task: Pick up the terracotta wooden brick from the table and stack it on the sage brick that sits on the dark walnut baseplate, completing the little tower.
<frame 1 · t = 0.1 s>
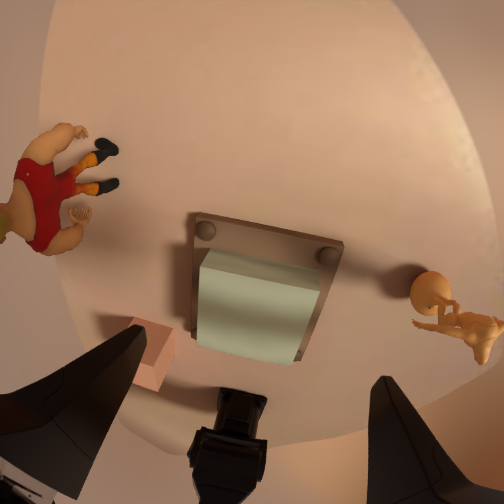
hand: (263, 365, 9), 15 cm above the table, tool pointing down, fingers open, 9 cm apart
figurine: (425, 271, 23), on the table
tower base: (257, 294, 26), on the table
action figure: (109, 165, 22), on the table
terracotta brick: (155, 336, 32), on the table
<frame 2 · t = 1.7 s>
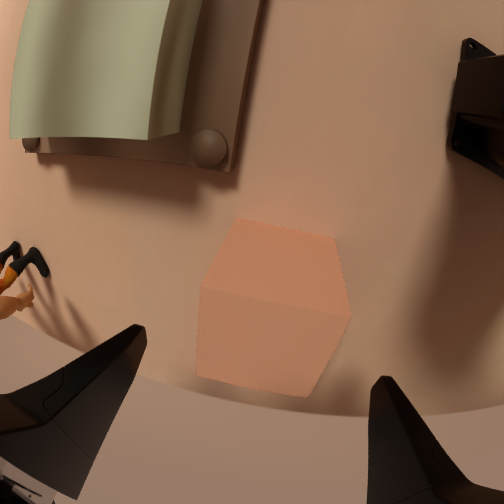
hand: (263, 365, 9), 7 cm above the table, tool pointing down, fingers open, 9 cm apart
tower base: (121, 46, 10), on the table
action figure: (30, 255, 18), on the table
terracotta brick: (276, 269, 15), on the table
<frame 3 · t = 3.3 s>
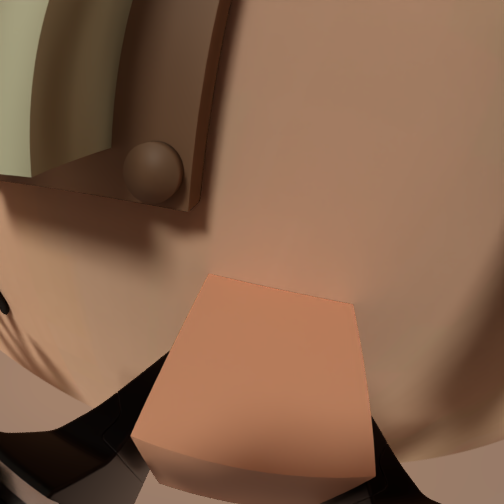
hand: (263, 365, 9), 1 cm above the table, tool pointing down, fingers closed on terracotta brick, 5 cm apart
tower base: (51, 31, 6), on the table
terracotta brick: (267, 340, 10), on the table, touching gripper
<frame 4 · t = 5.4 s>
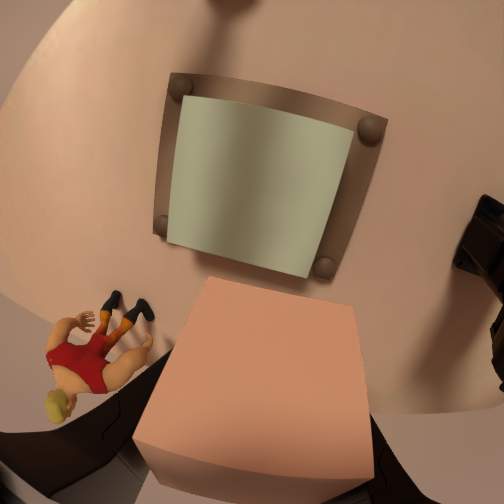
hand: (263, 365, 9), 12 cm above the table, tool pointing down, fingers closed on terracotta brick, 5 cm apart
tower base: (259, 173, 18), on the table
action figure: (132, 302, 27), on the table
terracotta brick: (267, 342, 11), point 11 cm above the table, touching gripper
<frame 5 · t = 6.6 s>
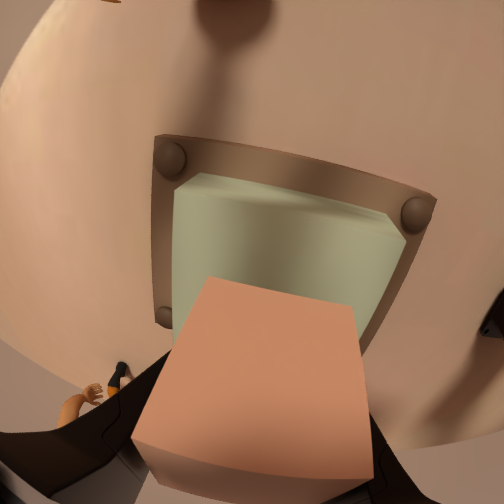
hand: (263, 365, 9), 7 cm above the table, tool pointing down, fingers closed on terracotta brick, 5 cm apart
tower base: (277, 263, 16), on the table
action figure: (139, 372, 24), on the table
terracotta brick: (267, 342, 11), point 6 cm above the table, touching gripper
when the fingers open (6 cm above the table, at t = 7.5 s): terracotta brick drops 1 cm, resting on tower base.
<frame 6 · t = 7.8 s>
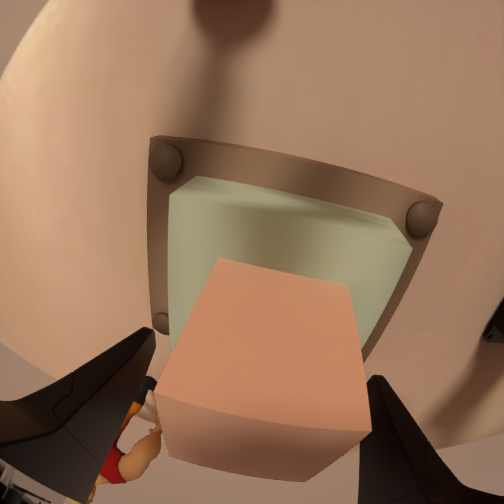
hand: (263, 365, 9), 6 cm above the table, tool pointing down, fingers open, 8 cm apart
tower base: (277, 269, 15), on the table
action figure: (137, 376, 23), on the table
terracotta brick: (271, 321, 12), point 4 cm above the table, touching tower base
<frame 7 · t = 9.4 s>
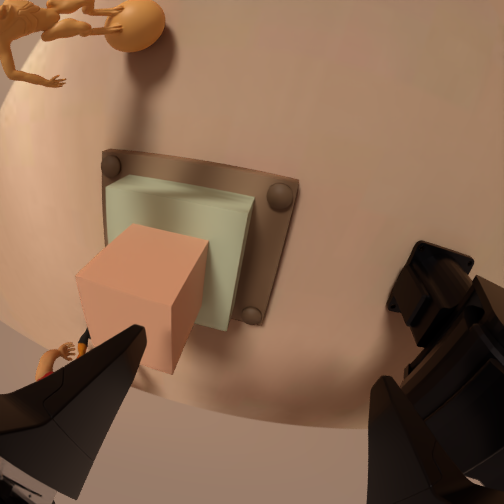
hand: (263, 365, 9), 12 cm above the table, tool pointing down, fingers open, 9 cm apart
figurine: (137, 34, 14), on the table
tower base: (187, 237, 21), on the table
action figure: (104, 333, 29), on the table
terracotta brick: (167, 266, 17), point 4 cm above the table, touching tower base
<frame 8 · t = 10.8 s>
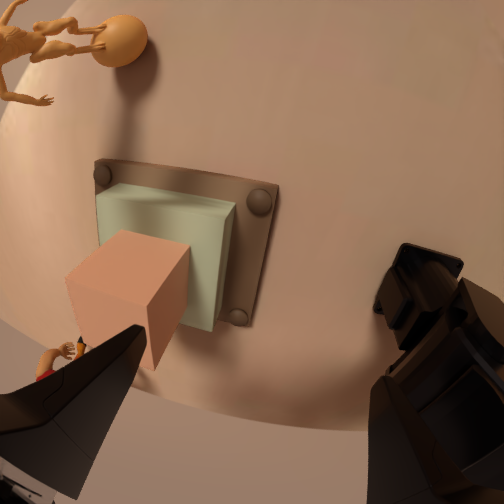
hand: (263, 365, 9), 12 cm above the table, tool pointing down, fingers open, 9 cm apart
figurine: (123, 48, 15), on the table
tower base: (175, 242, 22), on the table
action figure: (103, 334, 30), on the table
terracotta brick: (154, 269, 18), point 4 cm above the table, touching tower base
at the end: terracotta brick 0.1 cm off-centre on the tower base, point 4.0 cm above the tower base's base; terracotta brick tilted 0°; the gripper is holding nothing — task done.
